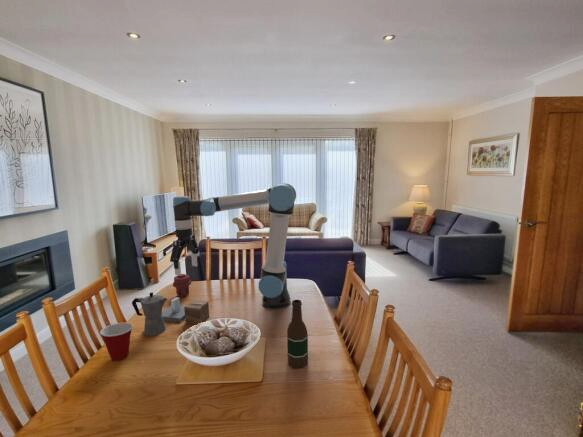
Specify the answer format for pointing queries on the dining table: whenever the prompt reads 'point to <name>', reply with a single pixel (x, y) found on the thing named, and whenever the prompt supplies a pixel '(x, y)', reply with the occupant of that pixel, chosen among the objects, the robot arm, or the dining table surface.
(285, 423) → the dining table surface
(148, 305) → the coffeepot
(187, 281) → the mechanical component
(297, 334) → the beer bottle
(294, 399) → the dining table surface
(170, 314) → the shaft stand
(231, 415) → the dining table surface
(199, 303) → the cardboard box
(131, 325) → the plastic cup
